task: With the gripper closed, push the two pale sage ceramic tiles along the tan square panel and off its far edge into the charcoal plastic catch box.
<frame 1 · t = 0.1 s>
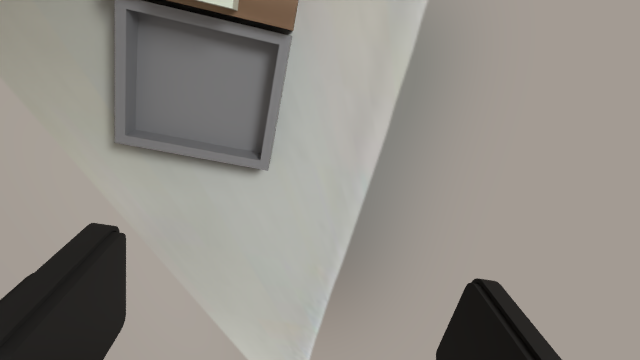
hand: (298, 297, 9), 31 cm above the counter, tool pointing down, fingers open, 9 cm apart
catch box: (206, 87, 37), on the counter
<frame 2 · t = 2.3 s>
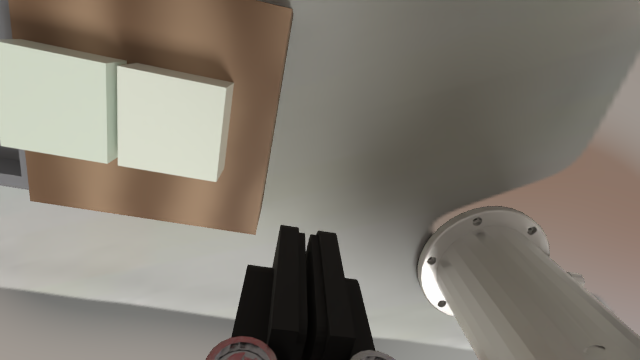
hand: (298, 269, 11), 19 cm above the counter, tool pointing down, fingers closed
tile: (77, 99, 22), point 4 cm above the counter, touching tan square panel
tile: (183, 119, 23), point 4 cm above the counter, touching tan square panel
tan square panel: (173, 101, 27), on the counter
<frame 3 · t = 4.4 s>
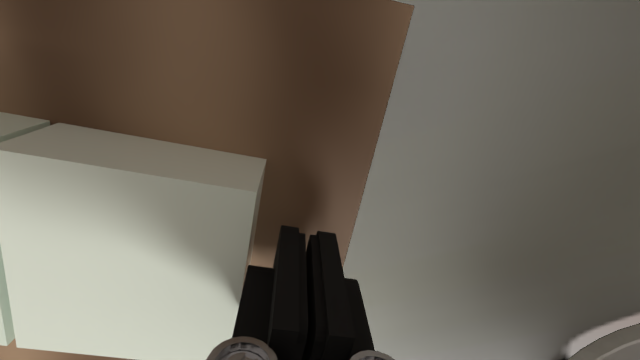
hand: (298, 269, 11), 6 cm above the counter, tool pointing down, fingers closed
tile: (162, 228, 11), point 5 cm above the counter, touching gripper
tan square panel: (160, 170, 15), on the counter
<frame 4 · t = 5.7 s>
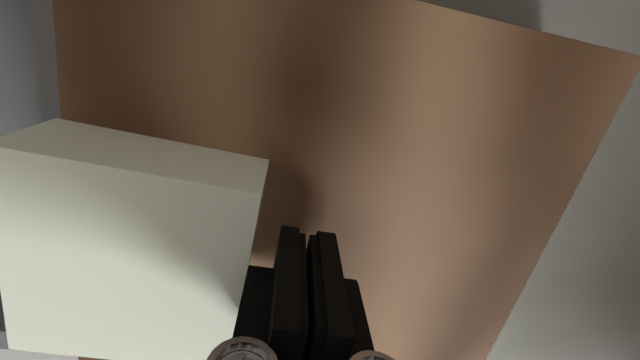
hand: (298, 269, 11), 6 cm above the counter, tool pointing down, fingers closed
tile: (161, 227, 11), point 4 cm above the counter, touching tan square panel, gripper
tan square panel: (313, 194, 16), on the counter
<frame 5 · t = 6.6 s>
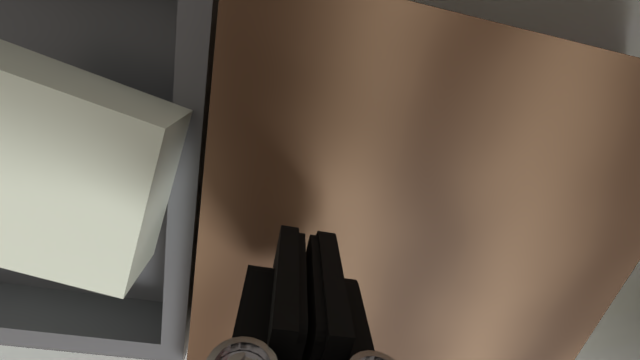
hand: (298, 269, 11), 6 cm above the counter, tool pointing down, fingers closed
catch box: (47, 149, 15), on the counter
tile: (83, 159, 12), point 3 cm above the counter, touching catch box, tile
tan square panel: (393, 207, 17), on the counter
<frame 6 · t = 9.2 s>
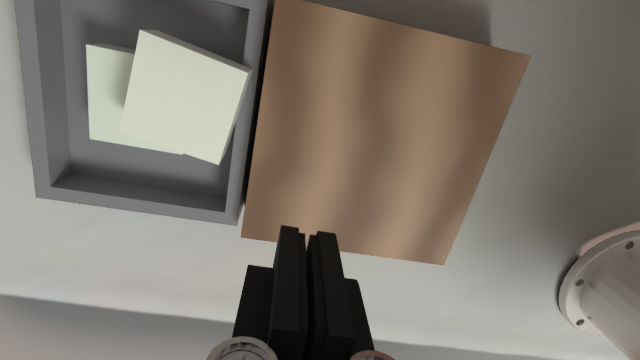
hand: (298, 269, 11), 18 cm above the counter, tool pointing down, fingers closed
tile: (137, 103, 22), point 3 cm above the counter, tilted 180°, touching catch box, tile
catch box: (158, 96, 25), on the counter
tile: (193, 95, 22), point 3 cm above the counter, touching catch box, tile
tan square panel: (362, 135, 27), on the counter
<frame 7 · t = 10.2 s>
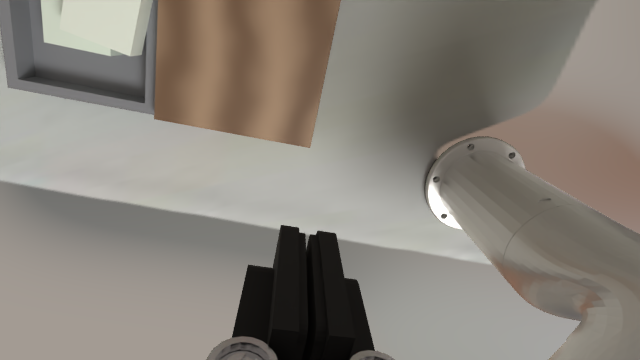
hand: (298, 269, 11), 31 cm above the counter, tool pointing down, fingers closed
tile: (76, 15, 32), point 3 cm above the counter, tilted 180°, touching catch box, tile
catch box: (96, 18, 35), on the counter
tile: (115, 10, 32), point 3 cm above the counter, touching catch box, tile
tan square panel: (250, 51, 37), on the counter
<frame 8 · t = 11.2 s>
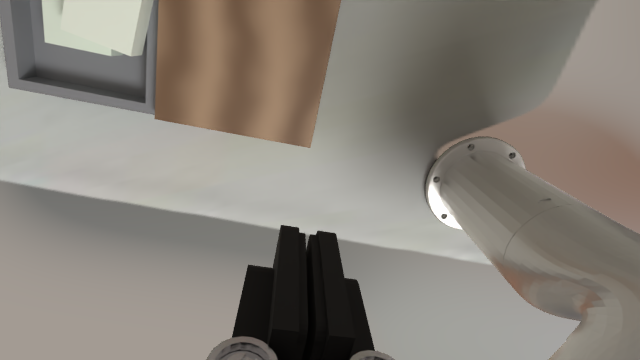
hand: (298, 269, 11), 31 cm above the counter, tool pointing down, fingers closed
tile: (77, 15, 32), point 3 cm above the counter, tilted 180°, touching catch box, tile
catch box: (97, 18, 35), on the counter
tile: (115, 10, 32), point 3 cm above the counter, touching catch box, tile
tan square panel: (250, 51, 37), on the counter
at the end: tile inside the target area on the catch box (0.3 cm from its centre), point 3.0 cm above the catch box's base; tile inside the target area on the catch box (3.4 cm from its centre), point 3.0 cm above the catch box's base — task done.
